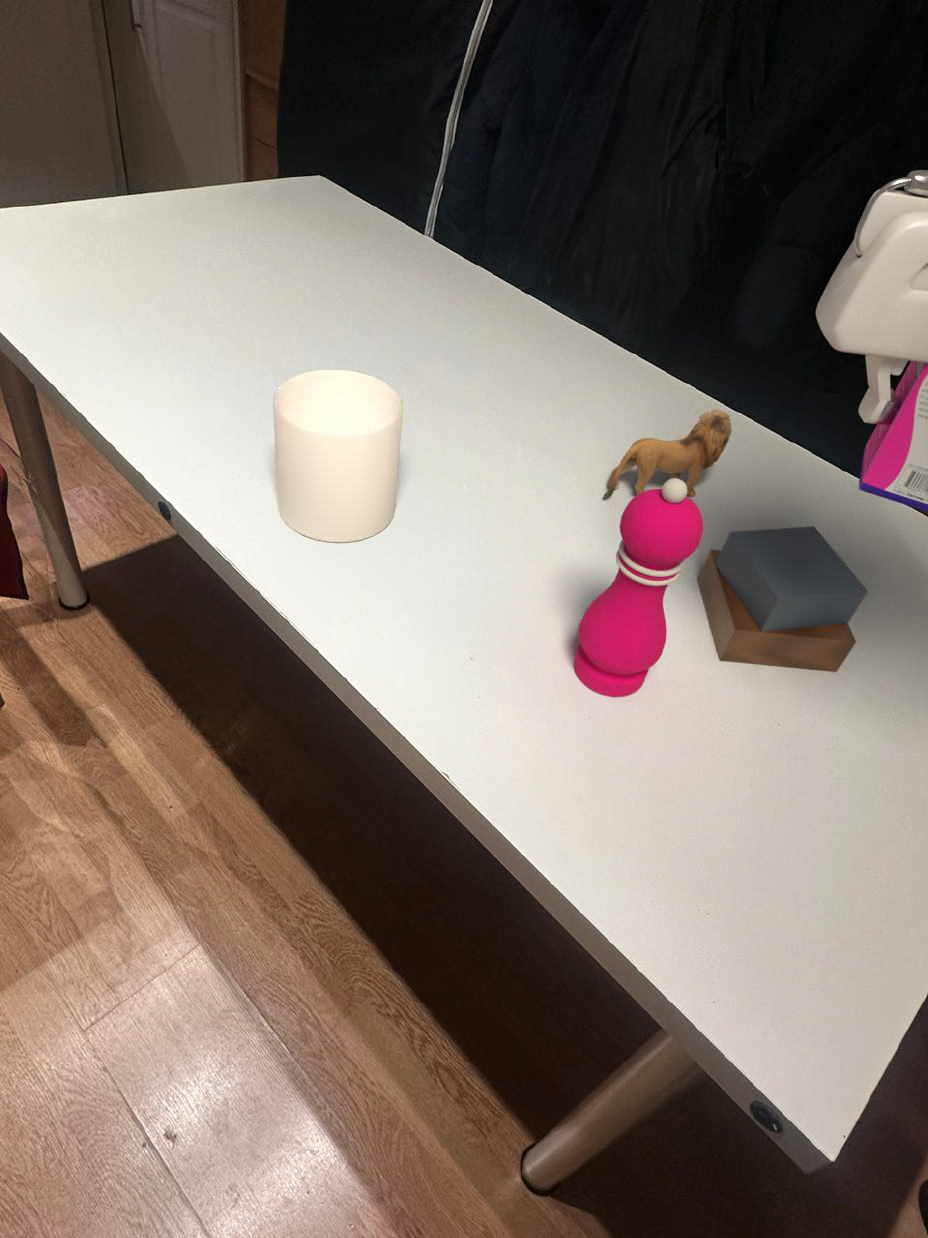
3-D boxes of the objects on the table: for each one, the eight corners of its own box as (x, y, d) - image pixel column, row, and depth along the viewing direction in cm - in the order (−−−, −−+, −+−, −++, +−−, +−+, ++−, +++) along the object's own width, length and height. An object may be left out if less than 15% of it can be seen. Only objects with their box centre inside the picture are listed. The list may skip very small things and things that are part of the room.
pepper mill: (558, 684, 70) (617, 492, 56) (579, 630, 75) (638, 441, 61) (641, 713, 68) (722, 524, 55) (656, 656, 73) (734, 469, 60)
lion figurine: (692, 465, 97) (717, 397, 91) (721, 491, 94) (749, 422, 88) (590, 488, 91) (610, 416, 85) (618, 516, 88) (640, 444, 82)
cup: (298, 553, 77) (295, 444, 69) (263, 483, 85) (257, 376, 76) (412, 530, 82) (423, 426, 74) (370, 465, 89) (376, 363, 81)
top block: (796, 558, 80) (814, 525, 77) (848, 623, 74) (868, 590, 71) (714, 564, 78) (729, 531, 75) (761, 632, 71) (778, 599, 69)
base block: (803, 591, 83) (819, 560, 80) (836, 672, 75) (856, 642, 72) (697, 579, 82) (710, 548, 79) (719, 660, 74) (735, 629, 71)
